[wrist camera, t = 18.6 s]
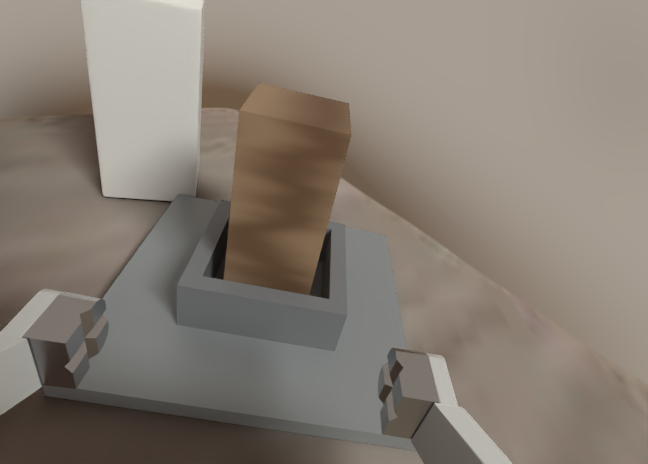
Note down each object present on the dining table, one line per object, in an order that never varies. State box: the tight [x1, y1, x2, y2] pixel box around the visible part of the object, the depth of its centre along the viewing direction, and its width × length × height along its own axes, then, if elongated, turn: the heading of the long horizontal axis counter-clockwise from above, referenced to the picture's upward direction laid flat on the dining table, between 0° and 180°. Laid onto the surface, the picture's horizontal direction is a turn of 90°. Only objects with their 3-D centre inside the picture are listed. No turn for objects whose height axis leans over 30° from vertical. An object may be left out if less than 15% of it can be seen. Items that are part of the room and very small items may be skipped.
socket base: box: [42, 194, 416, 451], centre depth 25 cm, size 18×18×4 cm
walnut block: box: [224, 83, 351, 295], centre depth 23 cm, size 5×5×12 cm
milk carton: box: [80, 0, 205, 201], centre depth 30 cm, size 7×7×19 cm
